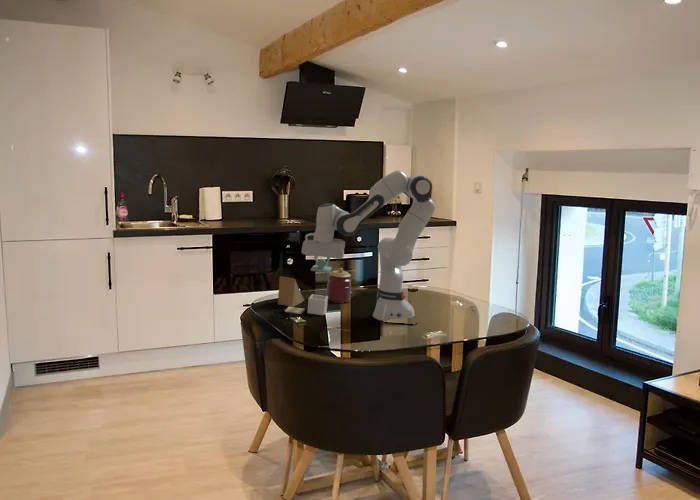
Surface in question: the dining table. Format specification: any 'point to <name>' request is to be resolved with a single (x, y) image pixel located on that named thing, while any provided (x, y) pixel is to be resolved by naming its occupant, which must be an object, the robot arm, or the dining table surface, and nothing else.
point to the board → (294, 310)
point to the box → (317, 304)
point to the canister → (339, 286)
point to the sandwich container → (289, 292)
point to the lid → (321, 267)
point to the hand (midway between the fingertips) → (321, 265)
